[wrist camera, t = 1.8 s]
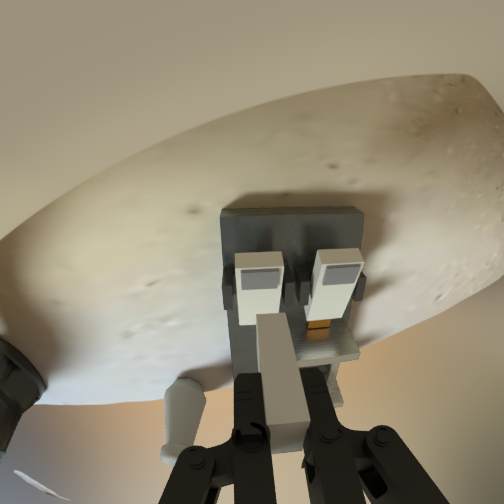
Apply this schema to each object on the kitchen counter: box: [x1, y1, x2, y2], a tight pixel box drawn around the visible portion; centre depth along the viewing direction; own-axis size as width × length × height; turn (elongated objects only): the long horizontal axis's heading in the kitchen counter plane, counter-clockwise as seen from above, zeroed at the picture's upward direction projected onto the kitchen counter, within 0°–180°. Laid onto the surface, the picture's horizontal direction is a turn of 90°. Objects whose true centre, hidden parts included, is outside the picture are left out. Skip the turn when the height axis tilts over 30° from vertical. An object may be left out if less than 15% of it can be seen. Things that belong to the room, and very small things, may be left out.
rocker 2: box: [304, 248, 364, 321], centre depth 24 cm, size 4×8×2 cm, turn 1°
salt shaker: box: [160, 378, 206, 467], centre depth 30 cm, size 6×6×13 cm
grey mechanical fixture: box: [220, 207, 366, 408], centre depth 27 cm, size 13×22×8 cm, turn 1°
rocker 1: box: [235, 251, 284, 325], centre depth 24 cm, size 4×8×2 cm, turn 1°
